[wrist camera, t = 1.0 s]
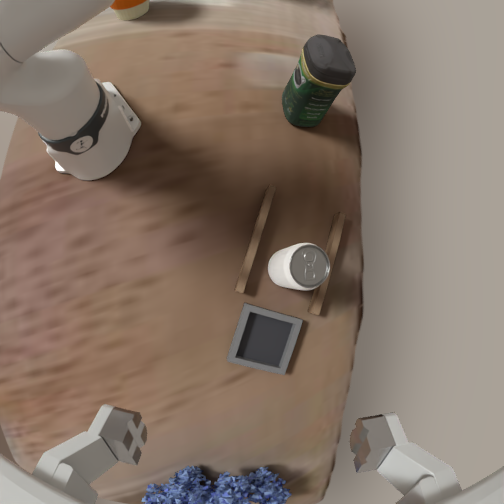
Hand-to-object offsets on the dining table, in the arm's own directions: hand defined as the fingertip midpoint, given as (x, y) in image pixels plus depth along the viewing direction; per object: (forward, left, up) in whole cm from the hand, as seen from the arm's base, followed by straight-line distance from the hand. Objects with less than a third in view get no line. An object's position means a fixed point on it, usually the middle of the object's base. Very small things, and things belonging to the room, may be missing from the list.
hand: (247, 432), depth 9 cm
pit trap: (+8, +4, -37) cm, 38 cm away
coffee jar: (-27, +31, -37) cm, 56 cm away
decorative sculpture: (+32, -20, -37) cm, 53 cm away
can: (-1, +13, -37) cm, 40 cm away
